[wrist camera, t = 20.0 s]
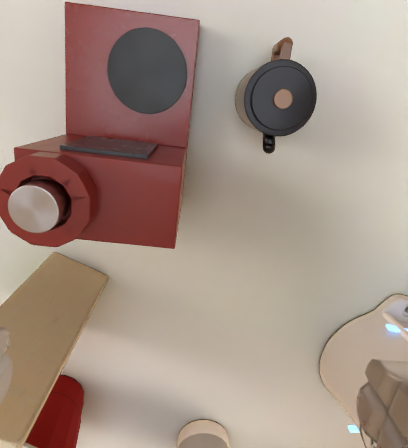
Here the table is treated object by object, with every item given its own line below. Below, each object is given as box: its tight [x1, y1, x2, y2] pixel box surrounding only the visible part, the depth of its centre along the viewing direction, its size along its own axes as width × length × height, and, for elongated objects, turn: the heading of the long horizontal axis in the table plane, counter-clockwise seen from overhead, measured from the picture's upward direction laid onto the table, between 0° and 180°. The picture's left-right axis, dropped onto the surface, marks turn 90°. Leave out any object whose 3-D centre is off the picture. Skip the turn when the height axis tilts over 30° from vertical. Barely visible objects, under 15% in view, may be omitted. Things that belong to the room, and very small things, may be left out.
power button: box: [8, 179, 69, 233], centre depth 22 cm, size 3×3×2 cm
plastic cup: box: [22, 375, 83, 448], centre depth 39 cm, size 11×11×12 cm
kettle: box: [235, 37, 317, 154], centre depth 30 cm, size 6×9×8 cm, turn 174°
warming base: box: [60, 2, 200, 159], centre depth 28 cm, size 11×10×11 cm
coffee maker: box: [0, 134, 187, 249], centre depth 29 cm, size 12×6×14 cm, turn 83°
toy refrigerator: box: [0, 252, 108, 448], centre depth 30 cm, size 8×7×21 cm
